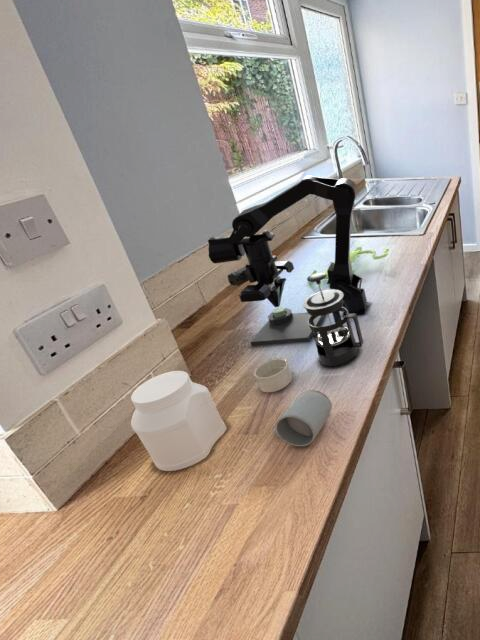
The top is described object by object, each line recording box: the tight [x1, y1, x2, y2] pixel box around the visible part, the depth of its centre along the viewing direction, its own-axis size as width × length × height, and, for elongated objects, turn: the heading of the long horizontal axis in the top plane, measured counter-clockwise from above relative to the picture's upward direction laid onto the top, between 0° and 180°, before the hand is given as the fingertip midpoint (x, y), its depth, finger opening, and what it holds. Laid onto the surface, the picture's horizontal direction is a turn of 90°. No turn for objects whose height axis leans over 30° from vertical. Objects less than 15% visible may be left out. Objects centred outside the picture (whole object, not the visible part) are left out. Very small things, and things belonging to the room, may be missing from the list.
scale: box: [250, 308, 327, 347], centre depth 113 cm, size 15×14×3 cm
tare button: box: [272, 306, 286, 318], centre depth 115 cm, size 3×3×2 cm
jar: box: [130, 370, 227, 472], centre depth 76 cm, size 12×10×15 cm
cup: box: [253, 357, 293, 393], centre depth 93 cm, size 7×7×4 cm
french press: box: [302, 272, 364, 370], centre depth 97 cm, size 12×9×23 cm
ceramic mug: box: [272, 389, 333, 447], centre depth 79 cm, size 11×8×8 cm
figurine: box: [311, 246, 390, 280], centre depth 144 cm, size 18×27×6 cm
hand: (277, 306), depth 114 cm, fingers closed
